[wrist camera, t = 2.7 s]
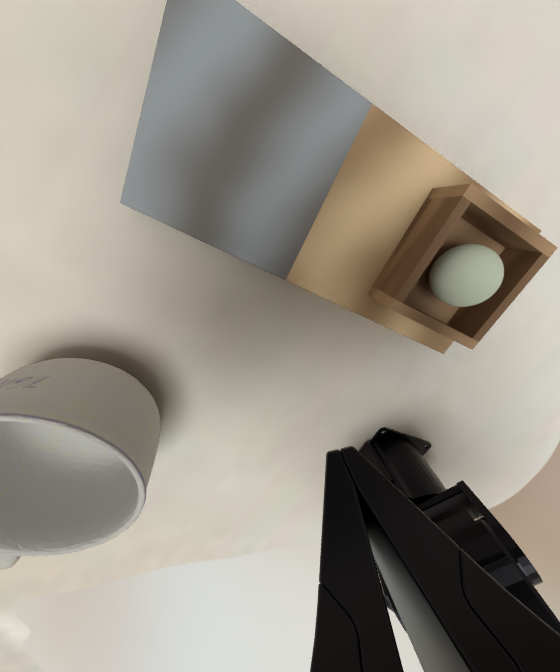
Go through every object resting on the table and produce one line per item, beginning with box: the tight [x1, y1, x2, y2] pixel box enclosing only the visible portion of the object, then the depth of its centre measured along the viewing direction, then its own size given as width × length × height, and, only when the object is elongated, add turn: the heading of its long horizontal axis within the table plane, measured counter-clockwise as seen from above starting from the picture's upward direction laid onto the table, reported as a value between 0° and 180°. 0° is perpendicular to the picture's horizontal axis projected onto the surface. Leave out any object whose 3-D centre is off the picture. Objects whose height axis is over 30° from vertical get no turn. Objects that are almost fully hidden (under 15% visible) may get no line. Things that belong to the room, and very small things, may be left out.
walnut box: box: [367, 184, 557, 349], centre depth 16 cm, size 7×7×3 cm
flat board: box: [120, 0, 541, 354], centre depth 16 cm, size 24×10×1 cm, turn 64°
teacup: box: [0, 358, 161, 569], centre depth 17 cm, size 14×11×8 cm
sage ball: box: [429, 244, 504, 307], centre depth 16 cm, size 4×4×4 cm
